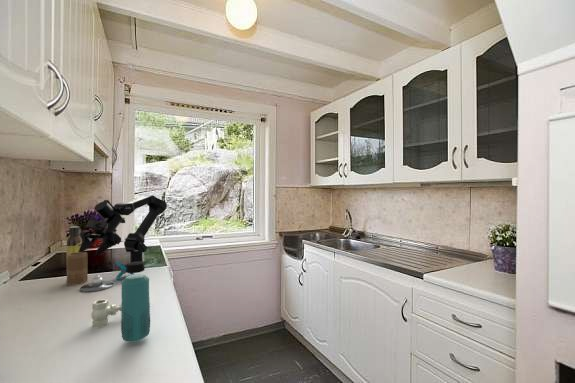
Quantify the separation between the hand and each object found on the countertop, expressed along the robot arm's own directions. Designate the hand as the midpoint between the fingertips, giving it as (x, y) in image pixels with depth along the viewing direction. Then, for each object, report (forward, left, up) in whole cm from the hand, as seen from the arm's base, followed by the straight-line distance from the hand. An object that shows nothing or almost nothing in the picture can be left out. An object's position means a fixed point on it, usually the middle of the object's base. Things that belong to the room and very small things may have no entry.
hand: (87, 253), depth 120 cm
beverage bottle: (+68, -5, -11) cm, 69 cm away
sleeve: (+2, -4, -11) cm, 12 cm away
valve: (+51, -5, -11) cm, 53 cm away
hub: (+15, 0, -11) cm, 18 cm away
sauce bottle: (-29, +1, -11) cm, 31 cm away
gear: (+10, +12, -11) cm, 19 cm away
